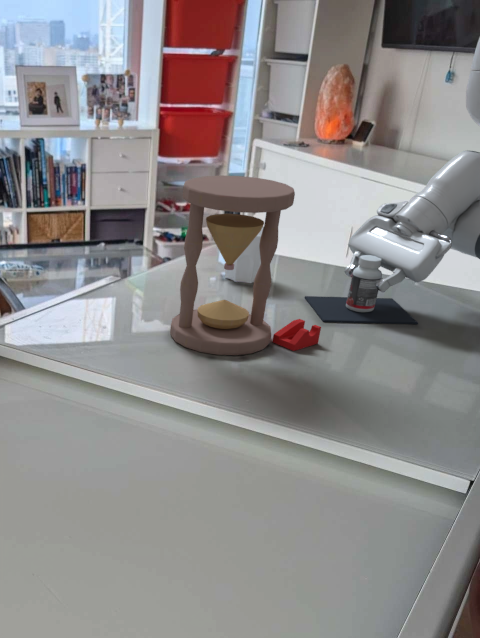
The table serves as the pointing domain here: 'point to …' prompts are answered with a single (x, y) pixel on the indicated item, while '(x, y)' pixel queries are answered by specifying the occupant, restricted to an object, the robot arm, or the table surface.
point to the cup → (246, 263)
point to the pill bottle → (364, 284)
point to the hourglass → (229, 261)
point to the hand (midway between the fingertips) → (362, 281)
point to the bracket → (297, 335)
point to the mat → (338, 312)
